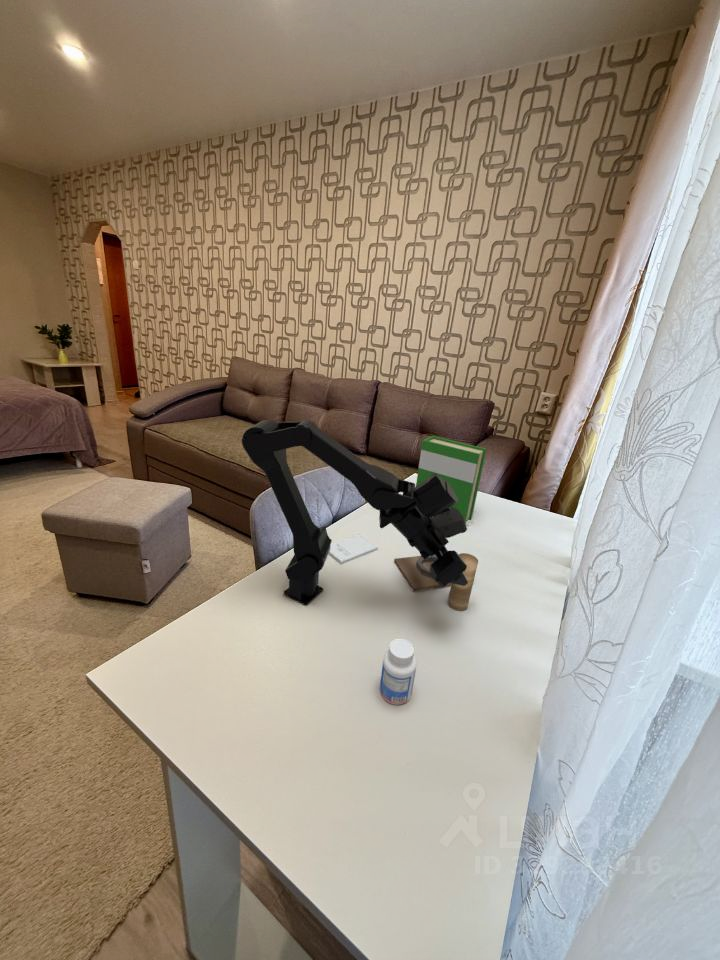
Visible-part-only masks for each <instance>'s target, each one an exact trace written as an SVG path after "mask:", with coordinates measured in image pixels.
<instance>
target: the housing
mask: <svg viewBox="0 0 720 960" xmlns="http://www.w3.org/2000/svg"><path fill="white" fill-rule="evenodd" d="M437 559H438V558H437V557H436V555H433V556H429V557H427V558H426V559H424V558H423V557H422V556H421V555H414V556H409V557H408V556H407V557H398V558H394V561H393V562H394V564H395V566H396V567H397V568H398V570H399V572H400V573H401V575H402V577H404V579H405V581H406V583H407V584H408V586H409V587H410V589H411V590H412V592H413V593H414V592H421V591H427V590H434V589H443V588H448V587H450V588H451V584H452V583H448V584H447V585H446V586H445V587H441V586H440V585H439V584H438V583H437V582H436V581H435V579H434V577H433V576H432V574H431V572H430V566H431V564H432V563H434V562H435V561H436V560H437ZM474 582H475V581H474ZM474 582H473V584H474Z"/></svg>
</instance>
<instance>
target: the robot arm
mask: <svg viewBox="0 0 720 960" xmlns="http://www.w3.org/2000/svg"><path fill="white" fill-rule="evenodd" d="M241 445H242V447H243V449H244V451H245V452H246V454H247V456H248V458H249V459H250V460H251V461H252V463H253V464H254V465H255V466H256V467H258V468H259V469H260V470H262V472H263V473H264V474H265V476H266V478H267V481H268V483H269V485H270V487H271V490H272V491H273V494H274V496H275V499H276V500H277V502H278V505H279V507H280V509H281V511H282V515H283V516H284V519H285V520H286V522H287V523H286V524H287V525H288V527H289V529H290V532H291V534H292V545H293V556H292V558H291V559H290V562H289V564H287V566H286V568H285V570H284V572H285V574H286V577H287V579H288V580H289V581H288V583H289V584H288V587H287V588H285V590H284V591H283V595H285V596H287V597H288V598H289V599H292V600H294V601H296V602H297V603H300V604H301V605H304V606H308V605H309V604H310V603H311V602H313V600H314V599H315V598H317V596H319V595H320V594H321V593H322V592H323V591H324V587H323V586H320V585H318V584H319V575H320V573H319V572H320V571H321V570H322V569H323V567H324V565H325V563H326V561H327V558H328V556H329V551H330V547H331V546H330V544H332V543H333V542H332V541H333V540H332V539H331V537H330V536H329V534H328V532H327V528H326V526H322V527H320V528H319V527H318V526H317V525H316V523H315V524H314V522H313V520H312V518H311V515H310V513H309V511H308V509H307V506H306V503H305V501H304V499H303V496H302V494H301V493H300V490H299V488H298V485H297V482H296V481H295V479H294V478H295V477H294V475H293V473H292V471H291V468H290V466H289V464H288V460H287V459H288V458H287V449H290V448H295V447H303V448H305V450H307V451H308V452H309V453H311V454H312V455H313V456H315V457H317V458H318V459H319V460H320V461H322V462H324V463H325V464H326V465H328V466H329V467H330V468H332V469H333V470H334V471H336V472H337V473H339V474H340V476H342V477H344V478H345V479H347V480H348V481H350V482H351V484H352V485H354V487H355V488H356V490H357V492H358V493H359V495H360V496H361V498H363V499H364V500H365V501H366V502H367V504H369V505H370V506H371V508H373V509H374V510H377V511H379V517H378V521H379V528H380V529H384V528H386V527H387V526H388V525H390V524H391V525H392V526H393V527H394V528H395V529H396V530H397V531H398V532H399V533H400V534H401V535H402V536H403V537H404V538H405V539H406V541H407V542H408V544H409V546H410V547H412V548H415V549H416V550H417V551H418V552H419V554H420V556H422V557H423V558H424V559H426V558H427V557H429V556H433V555H436V557H437V558H438V559H437V560H436V561H435V562H434V563H432V564H431V566H430V572H431V574H432V576H433V577H434V579H435V581H436V582H437V583H438V584H439V585H440V586H441V587H443V588H446V587H445V586H446V585H447V584H448V583H452V584H457V585H462V586H465V585H466V584H468V581H467V579H466V578H465V576H464V574H463V572H464V571H465V570H466V568H467V566H466V564H465V563H464V561H463V560H462V558H461V557H460V556H459V553H458V552H457V551H456V550H448V549H447V547H446V545H448V544H449V543H450V541H449V540H448V538H453V537H455V536H457V535H459V534H464V533H466V532H467V531H468V528H467V524H466V523H465V520H464V517H463V515H462V514H461V513H460V512H459V511H458V509H456V508H454V507H453V506H452V505H454V504H456V503H457V502H458V498H457V496H456V494H455V492H454V491H453V489H452V487H451V486H450V485H449V483H448V482H447V481H445V480H444V479H443V478H442V477H439V475H438V474H437V473H434V474H432V475H431V476H430V477H429V478H428V479H427V480H425V481H424V482H422V483H421V484H419V485H418V486H416V482H415V483H414V482H411V481H408V480H403V479H402V478H398V477H397V476H396V475H395V474H394V473H391V472H390V471H388V470H386V469H384V468H382V467H381V466H377V465H374V464H370V463H368V462H366V461H364V460H363V459H361V458H360V457H359V456H357V455H356V454H355V453H353V452H352V451H351V450H349V449H348V448H347V447H345V446H344V445H342V444H341V443H340V442H338V441H337V440H336V439H334V438H333V437H332V436H331V435H329V434H327V433H326V432H325V431H324V430H322V429H321V428H320V427H319V426H318V425H317V424H315V422H314V421H311V420H307V419H306V420H301V421H281V422H276V421H274V420H272V419H271V420H270V419H264V420H261V421H260V422H258V423H255V424H254V425H252V426H250V427H249V428H248V429H246V431H245V432H243V435H242V438H241ZM401 493H402V494H401ZM451 506H452V507H451ZM449 507H451V509H450V508H449ZM417 508H418V509H417Z"/></svg>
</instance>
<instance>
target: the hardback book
mask: <svg viewBox="0 0 720 960" xmlns="http://www.w3.org/2000/svg"><path fill="white" fill-rule="evenodd" d="M421 443H422V444H421V450H420V456H419V462H418V469H417V476H416V482H415V487H416V486H418V485H419V484H421V483H422V482H424V481H425V480H427V479H428V478H429V477H430V476H431V475H432V474H434V473H437V474H438V475H439V477H442V478H443V479H444V480H445V481H447V482H448V483H449V485H450V486H451V487H452V489H453V491H454V492H455V494H456V496H457V498H458V502H457V503H456V504H454V505H452V506H453V507H454V508H456V509H458V511H459V512H460V513H461V514H462V515H463V517H464V520H465V524H466V522H467V521H468V520H469V521H471V520H472V518H473V514H474V511H475V505H476V500H477V497H478V496H477V495H478V491H479V486H480V483H481V479H482V478H481V477H482V472H483V469H484V463H485V459H486V453H487V449H488V448H485V447H481V446H476V445H472V444H468V443H464V442H460V441H456V440H452V439H448V438H443V437H439V436H435V435H432V436H431V435H430V436H429V437H427V438H425V439H422V442H421ZM452 506H451V507H452ZM451 507H449V508H450V509H451ZM417 509H418V508H417Z"/></svg>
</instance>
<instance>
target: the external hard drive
mask: <svg viewBox="0 0 720 960" xmlns="http://www.w3.org/2000/svg"><path fill="white" fill-rule="evenodd" d="M330 546H331V547H330V551H329V554H328V556H331V557H332V559H334V560H335V561H336V562H337V563H339V564H340V565H344V564H345V563H348V562H351V561H353V560H356V559H359V558H361V557H363V556H367V555H368V554H371V553H374V552H376V551H378V549H379V547H378V545H376V544H375V543H374V542H372V541H370V540H369V539H368V538H366V537H365V536H364V535H362V534H361V533H358V534H355V535H352V536H349V537H347V538H343V539H341V540H338V541H336V542H331V544H330Z"/></svg>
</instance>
